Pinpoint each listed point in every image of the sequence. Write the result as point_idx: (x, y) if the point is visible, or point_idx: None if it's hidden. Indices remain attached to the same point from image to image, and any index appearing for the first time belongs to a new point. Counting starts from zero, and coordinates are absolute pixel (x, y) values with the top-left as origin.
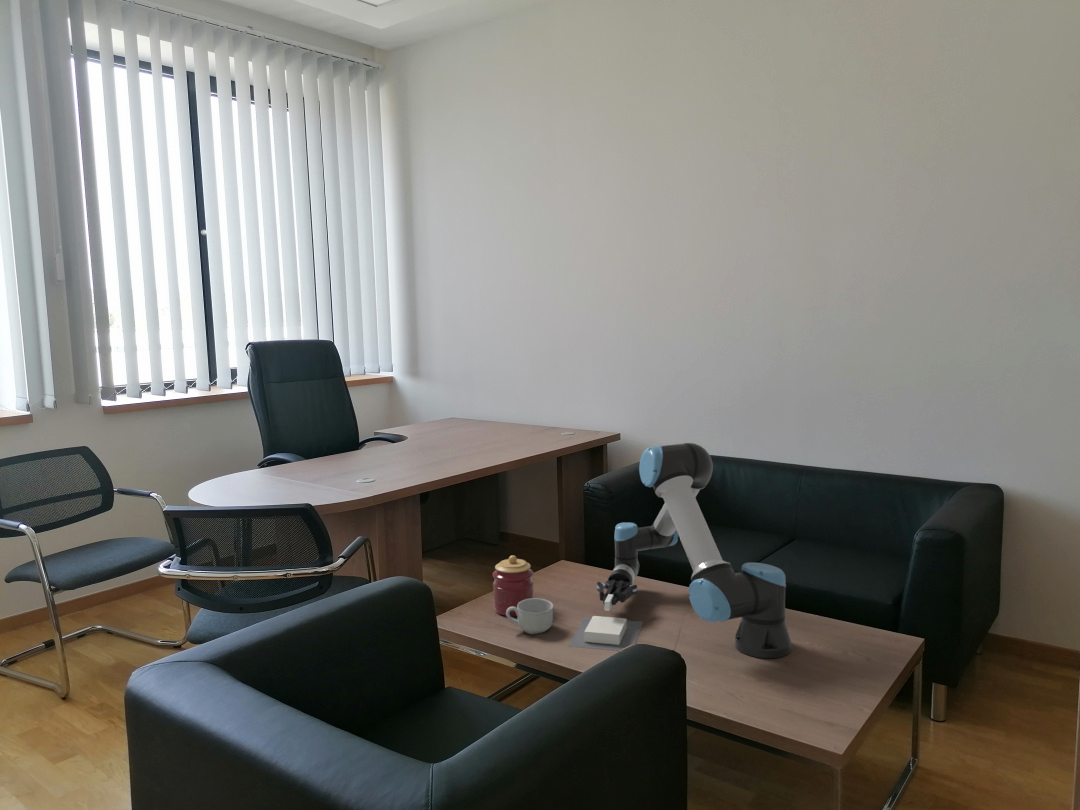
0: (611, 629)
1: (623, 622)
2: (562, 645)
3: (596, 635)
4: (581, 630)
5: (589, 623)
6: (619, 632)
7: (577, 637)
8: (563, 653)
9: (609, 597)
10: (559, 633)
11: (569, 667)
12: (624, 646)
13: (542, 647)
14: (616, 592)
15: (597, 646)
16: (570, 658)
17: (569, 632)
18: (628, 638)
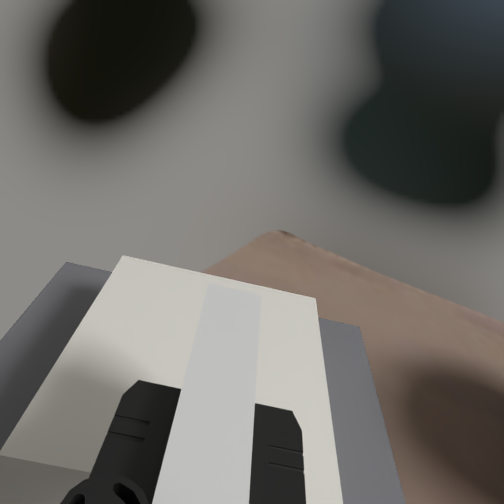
0: (164, 301)
1: (56, 381)
2: (390, 352)
3: None
4: (372, 489)
5: (321, 377)
6: (117, 271)
7: (354, 396)
8: (352, 300)
9: (217, 384)
10: (488, 478)
11: (297, 239)
12: (90, 300)
13: (457, 343)
14: (91, 482)
15: None
16: (313, 273)
17: (441, 494)
18: (38, 373)
